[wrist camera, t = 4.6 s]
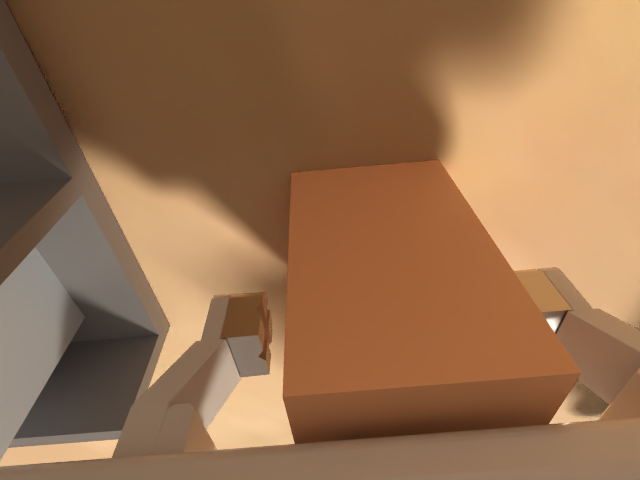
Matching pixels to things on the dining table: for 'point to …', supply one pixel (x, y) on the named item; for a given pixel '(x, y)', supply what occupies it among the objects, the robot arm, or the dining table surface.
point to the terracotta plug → (407, 313)
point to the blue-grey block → (31, 338)
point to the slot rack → (71, 260)
